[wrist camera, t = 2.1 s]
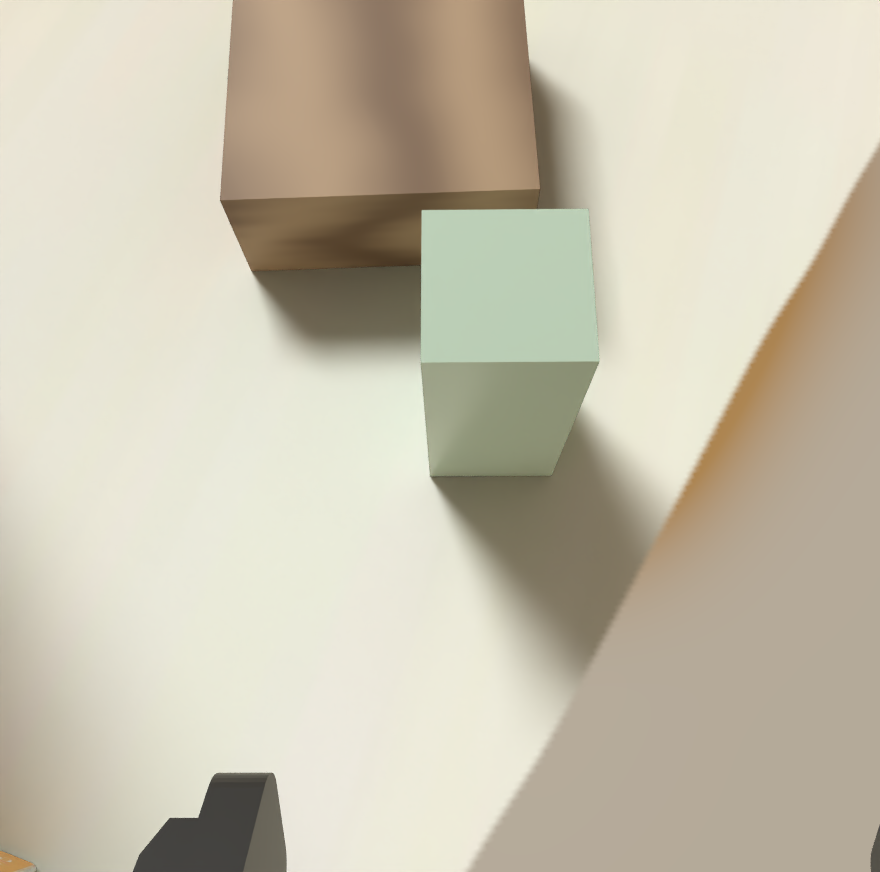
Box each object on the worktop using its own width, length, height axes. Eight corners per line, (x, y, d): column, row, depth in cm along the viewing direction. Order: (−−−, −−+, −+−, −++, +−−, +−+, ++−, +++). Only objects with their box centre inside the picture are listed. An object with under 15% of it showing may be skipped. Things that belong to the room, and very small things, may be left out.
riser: (253, 275, 33) (220, 200, 28) (263, 58, 36) (235, -41, 32) (527, 265, 33) (540, 188, 28) (509, 49, 36) (519, -51, 32)
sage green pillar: (430, 476, 30) (420, 362, 20) (430, 365, 31) (421, 210, 22) (551, 475, 29) (599, 361, 20) (546, 364, 31) (588, 208, 21)
